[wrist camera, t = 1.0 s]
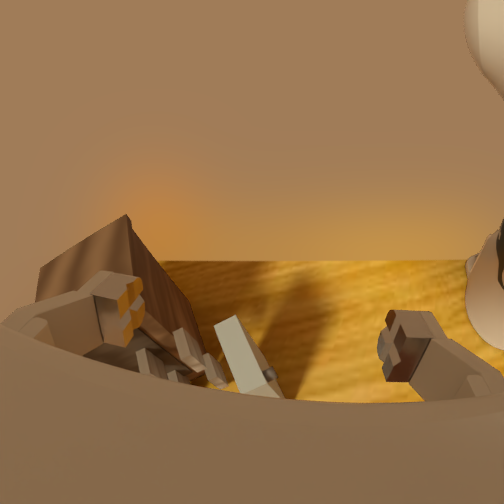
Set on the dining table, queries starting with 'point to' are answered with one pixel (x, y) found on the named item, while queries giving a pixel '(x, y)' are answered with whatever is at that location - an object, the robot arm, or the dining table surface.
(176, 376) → the cabinet
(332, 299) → the dining table surface
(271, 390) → the door
